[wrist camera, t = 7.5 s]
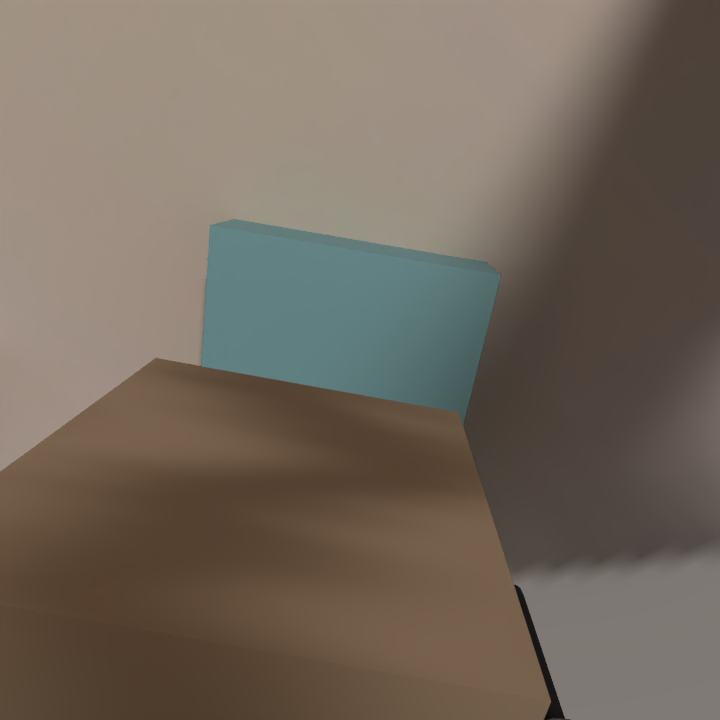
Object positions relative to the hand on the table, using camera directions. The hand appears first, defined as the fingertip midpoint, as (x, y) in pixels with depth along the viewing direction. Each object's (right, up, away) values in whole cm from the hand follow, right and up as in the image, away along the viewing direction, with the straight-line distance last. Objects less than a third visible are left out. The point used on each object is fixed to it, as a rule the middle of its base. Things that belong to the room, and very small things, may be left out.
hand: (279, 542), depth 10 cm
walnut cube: (0, 0, +1) cm, 1 cm away
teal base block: (+1, +4, +10) cm, 11 cm away
